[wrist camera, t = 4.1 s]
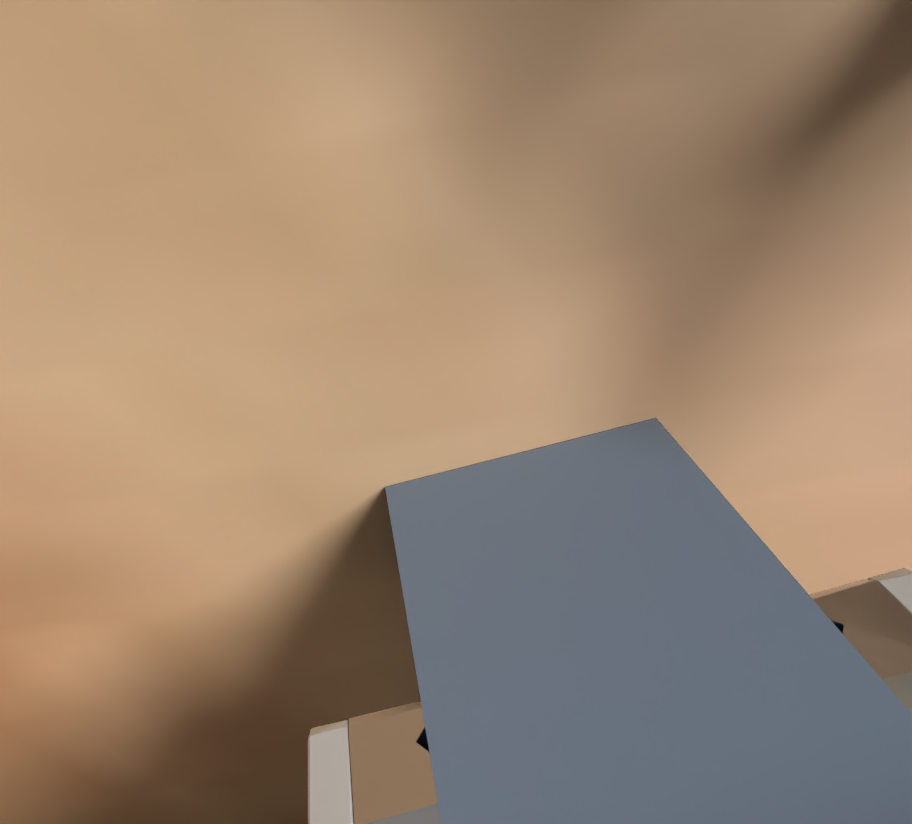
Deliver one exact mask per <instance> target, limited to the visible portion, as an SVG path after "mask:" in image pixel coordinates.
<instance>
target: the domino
mask: <svg viewBox="0 0 912 824" xmlns="http://www.w3.org/2000/svg"><path fill="white" fill-rule="evenodd" d="M385 490H386V496H387V502H388V508H389V514H390V520H391V526H392V532H393V538H394V544H395V550H396V556H397V562H398V568H399V574H400V580H401V586H402V592H403V598H404V604H405V610H406V616H407V622H408V627H409V633H410V639H411V645H412V651H413V657H414V663H415V669H416V675H417V681H418V687H419V693H420V699H421V705H422V711H423V717H424V723H425V729H426V735H427V741H428V747H429V753H430V759H431V765H432V771H433V777H434V783H435V789H436V795H437V801H438V807H439V812H440V818H441V824H912V714H911V713H910V711H909V710H908V709H907V708H906V707H905V706H904V704H903V703H902V702H901V701H900V700H899V699H898V697H897V696H896V695H895V694H894V693H893V692H892V691H891V689H890V688H889V687H888V686H887V685H886V684H885V682H884V681H883V680H882V679H881V678H880V677H879V675H878V674H877V673H876V672H875V671H874V670H873V669H872V667H871V666H870V665H869V664H868V663H867V662H866V660H865V659H864V658H863V657H862V656H861V655H860V653H859V652H858V651H857V650H856V649H855V648H854V647H853V645H852V644H851V643H850V642H849V641H848V640H847V638H846V637H845V636H844V635H843V634H842V633H841V631H840V630H839V629H838V628H837V627H836V626H835V625H834V623H833V622H832V621H831V620H830V619H829V618H828V616H827V615H826V614H825V613H824V612H823V611H822V609H821V608H820V607H819V606H818V605H817V604H816V603H815V601H814V600H813V599H812V598H811V597H810V596H809V594H808V593H807V592H806V591H805V590H804V589H803V587H802V586H801V585H800V584H799V583H798V582H797V581H796V579H795V578H794V577H793V576H792V575H791V574H790V572H789V571H788V570H787V569H786V568H785V567H784V565H783V564H782V563H781V562H780V561H779V560H778V559H777V557H776V556H775V555H774V554H773V553H772V552H771V550H770V549H769V548H768V547H767V546H766V545H765V543H764V542H763V541H762V540H761V539H760V538H759V536H758V535H757V534H756V533H755V532H754V531H753V530H752V528H751V527H750V526H749V525H748V524H747V523H746V521H745V520H744V519H743V518H742V517H741V516H740V514H739V513H738V512H737V511H736V510H735V509H734V508H733V506H732V505H731V504H730V503H729V502H728V501H727V499H726V498H725V497H724V496H723V495H722V494H721V492H720V491H719V490H718V489H717V488H716V487H715V486H714V484H713V483H712V482H711V481H710V480H709V479H708V477H707V476H706V475H705V474H704V473H703V472H702V470H701V469H700V468H699V467H698V466H697V465H696V464H695V462H694V461H693V460H692V459H691V458H690V457H689V455H688V454H687V453H686V452H685V451H684V450H683V448H682V447H681V446H680V445H679V444H678V443H677V442H676V440H675V439H674V438H673V437H672V436H671V435H670V433H669V432H668V431H667V430H666V429H665V428H664V426H663V425H662V424H661V423H660V422H659V421H658V420H657V418H655V419H651V420H647V421H643V422H639V423H635V424H631V425H627V426H623V427H619V428H615V429H611V430H608V431H604V432H600V433H596V434H592V435H588V436H584V437H580V438H576V439H572V440H568V441H564V442H560V443H556V444H552V445H549V446H545V447H541V448H537V449H533V450H529V451H525V452H521V453H517V454H513V455H509V456H505V457H501V458H497V459H493V460H490V461H486V462H482V463H478V464H474V465H470V466H466V467H462V468H458V469H454V470H450V471H446V472H442V473H438V474H434V475H431V476H427V477H423V478H419V479H415V480H411V481H407V482H403V483H399V484H395V485H391V486H387V487H385Z"/></svg>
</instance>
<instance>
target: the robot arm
mask: <svg viewBox="0 0 912 824" xmlns="http://www.w3.org/2000/svg"><path fill="white" fill-rule="evenodd" d="M809 596H810V597H811V598H812V599H813V600H814V601H815V603H816V604H817V605H818V606H819V607H820V608H821V609H822V611H823V612H824V613H825V614H826V615H827V616H828V618H829V619H830V620H831V621H832V622H833V623H834V625H835V626H836V627H837V628H838V629H839V630H840V631H841V633H842V634H843V635H844V636H845V637H846V638H847V640H848V641H849V642H850V643H851V644H852V645H853V647H854V648H855V649H856V650H857V651H858V652H859V653H860V655H861V656H862V657H863V658H864V659H865V660H866V662H867V663H868V664H869V665H870V666H871V667H872V669H873V670H874V671H875V672H876V673H877V674H878V675H879V677H880V678H881V679H882V680H883V681H884V682H885V684H886V685H887V686H888V687H889V688H890V689H891V691H892V692H893V693H894V694H895V695H896V696H897V697H898V699H899V700H900V701H901V702H902V703H903V704H904V706H905V707H906V708H907V709H908V710H909V711H910V713H911V714H912V571H911V570H908V569H906V568H903V569H899V570H895V571H892V572H888V573H885V574H881V575H878V576H874V577H870V578H868V579H867V580H865V579H863V580H860V581H856V582H853V583H849V584H845V585H842V586H838V587H835V588H831V589H828V590H824V591H821V592H817V593H814V594H810V595H809ZM308 824H441V818H440V812H439V807H438V801H437V795H436V789H435V783H434V777H433V771H432V765H431V759H430V753H429V747H428V741H427V735H426V729H425V723H424V717H423V711H422V705H421V701H418V702H414V703H409V704H405V705H401V706H397V707H393V708H389V709H385V710H381V711H377V712H373V713H368V714H364V715H360V716H356V717H352V718H349V719H347V720H343V721H339V722H335V723H331V724H327V725H323V726H318V727H314V728H311V730H310V734H309V737H308Z"/></svg>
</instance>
